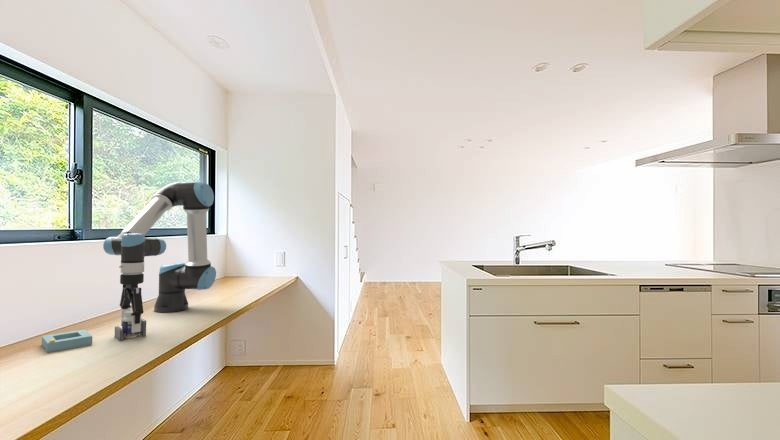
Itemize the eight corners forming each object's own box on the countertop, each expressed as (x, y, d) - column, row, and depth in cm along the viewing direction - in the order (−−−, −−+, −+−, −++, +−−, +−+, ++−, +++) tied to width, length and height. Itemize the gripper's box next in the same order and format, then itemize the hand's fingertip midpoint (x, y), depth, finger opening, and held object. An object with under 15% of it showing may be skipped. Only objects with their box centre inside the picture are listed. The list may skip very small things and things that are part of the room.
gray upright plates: (139, 332, 150) (140, 317, 150) (145, 336, 146) (146, 320, 146) (114, 337, 144) (114, 321, 144) (119, 341, 139) (120, 324, 139)
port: (84, 337, 143) (84, 327, 143) (92, 344, 135) (92, 334, 135) (41, 344, 134) (42, 334, 134) (47, 352, 126) (47, 341, 126)
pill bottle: (127, 339, 141) (127, 313, 141) (118, 337, 143) (119, 312, 144) (141, 335, 146) (142, 310, 146) (133, 333, 148) (134, 309, 148)
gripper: (111, 271, 150) (109, 324, 150) (130, 277, 134) (129, 337, 134) (133, 269, 156) (131, 321, 156) (154, 275, 140) (152, 333, 140)
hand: (130, 328), depth 145 cm, fingers open, 12 cm apart
